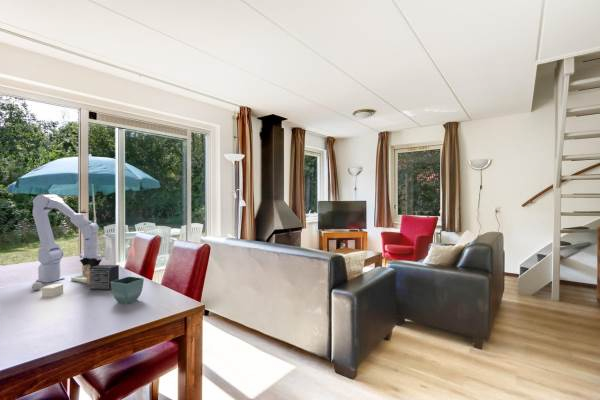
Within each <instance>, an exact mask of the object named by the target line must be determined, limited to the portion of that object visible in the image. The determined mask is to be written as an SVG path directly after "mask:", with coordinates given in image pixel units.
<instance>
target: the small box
mask: <svg viewBox="0 0 600 400" xmlns="http://www.w3.org/2000/svg"><path fill="white" fill-rule="evenodd" d="M119 267H120V265H119V264H99V265H97V266H93V267H90V268H89V270H90V285H89V290H90V291H91V290H92V291H112V288H111V282H112V281H115V280H119V279H120V271H119V270H120V268H119Z"/></svg>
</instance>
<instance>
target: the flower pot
mask: <svg viewBox="0 0 600 400" xmlns="http://www.w3.org/2000/svg"><path fill="white" fill-rule="evenodd" d="M144 280H145V278H143V277H136V276H126V277H121V278H119V280H115V281H112V282H111V288H112V289H111V293H112V296H113V298H114V299H115V301H116V302H117V303H121V304H126V305H127V304H130V303H132V302H133V303H134V302H136V301H137V300H138V299H139V297H140V296H141V294H142V291H143V286H144V282H145V281H144Z"/></svg>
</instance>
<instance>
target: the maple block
mask: <svg viewBox="0 0 600 400" xmlns="http://www.w3.org/2000/svg"><path fill="white" fill-rule="evenodd" d="M81 268H82V269H81V270H82V275H83V277H85V278H87V274H89V273H90V270H89V268H90V264H87V265H83V264H82V266H81Z"/></svg>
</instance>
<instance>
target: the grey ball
mask: <svg viewBox="0 0 600 400" xmlns="http://www.w3.org/2000/svg"><path fill="white" fill-rule="evenodd" d="M42 288H43V284H42V282H41V281H36V282H35V283H32V285H31V289H32V290H33V291H38V290H42Z"/></svg>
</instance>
